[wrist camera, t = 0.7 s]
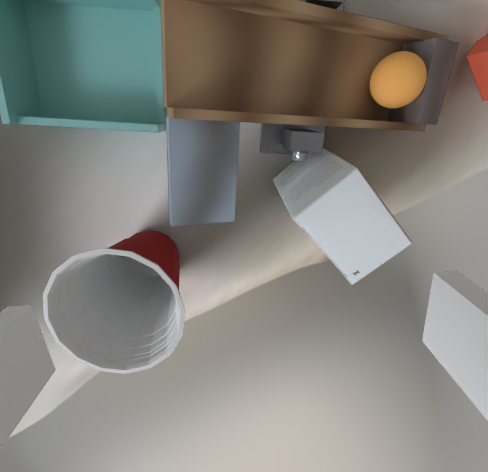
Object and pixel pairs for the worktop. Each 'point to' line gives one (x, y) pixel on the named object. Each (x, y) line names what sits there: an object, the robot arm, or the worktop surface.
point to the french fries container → (480, 65)
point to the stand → (296, 136)
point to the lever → (274, 85)
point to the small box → (341, 213)
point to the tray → (82, 64)
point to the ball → (398, 79)
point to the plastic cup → (118, 304)
